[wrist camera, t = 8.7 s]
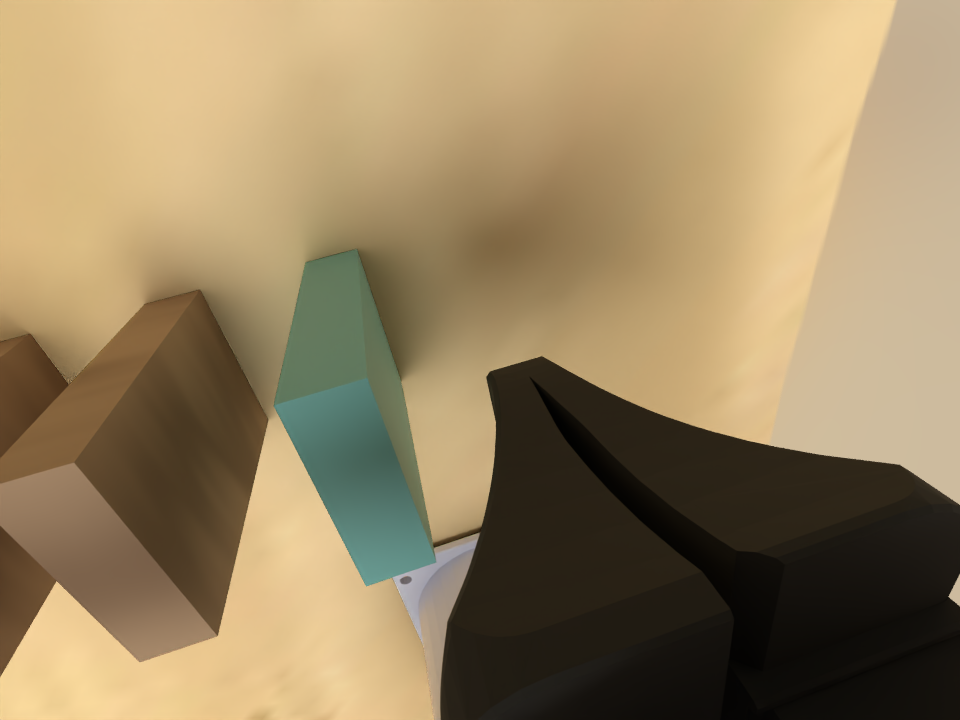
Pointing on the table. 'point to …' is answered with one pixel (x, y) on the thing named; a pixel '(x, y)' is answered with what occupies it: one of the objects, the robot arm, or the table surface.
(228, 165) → the table surface
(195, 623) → the walnut domino
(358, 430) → the teal domino
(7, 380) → the walnut domino
